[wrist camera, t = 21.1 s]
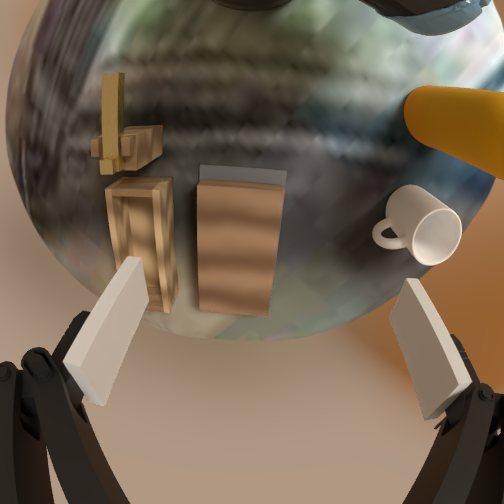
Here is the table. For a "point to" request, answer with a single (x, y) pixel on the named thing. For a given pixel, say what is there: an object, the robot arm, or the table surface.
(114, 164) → the key
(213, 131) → the table surface
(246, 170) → the felt mat
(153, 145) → the toolbox
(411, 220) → the mug
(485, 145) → the beer bottle
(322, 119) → the table surface
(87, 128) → the table surface
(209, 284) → the lid
